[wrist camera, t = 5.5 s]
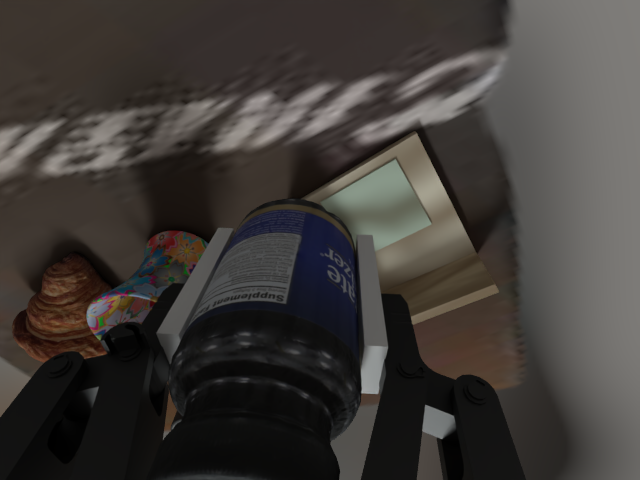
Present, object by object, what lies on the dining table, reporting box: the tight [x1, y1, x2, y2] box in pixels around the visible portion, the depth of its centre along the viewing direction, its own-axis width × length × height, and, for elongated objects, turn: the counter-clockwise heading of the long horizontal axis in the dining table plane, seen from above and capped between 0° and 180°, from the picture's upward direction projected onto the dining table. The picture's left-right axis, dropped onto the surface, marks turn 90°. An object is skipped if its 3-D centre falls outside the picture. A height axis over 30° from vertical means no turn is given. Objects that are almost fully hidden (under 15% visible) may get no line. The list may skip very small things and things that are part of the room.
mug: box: [86, 231, 209, 340], centre depth 33 cm, size 12×9×11 cm
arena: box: [301, 131, 499, 324], centre depth 32 cm, size 16×14×6 cm
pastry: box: [12, 252, 113, 362], centre depth 40 cm, size 17×15×8 cm
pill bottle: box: [146, 198, 362, 480], centre depth 12 cm, size 6×6×11 cm
